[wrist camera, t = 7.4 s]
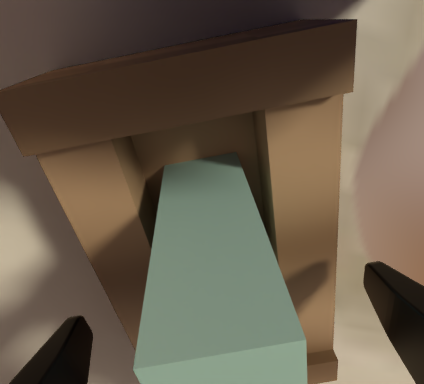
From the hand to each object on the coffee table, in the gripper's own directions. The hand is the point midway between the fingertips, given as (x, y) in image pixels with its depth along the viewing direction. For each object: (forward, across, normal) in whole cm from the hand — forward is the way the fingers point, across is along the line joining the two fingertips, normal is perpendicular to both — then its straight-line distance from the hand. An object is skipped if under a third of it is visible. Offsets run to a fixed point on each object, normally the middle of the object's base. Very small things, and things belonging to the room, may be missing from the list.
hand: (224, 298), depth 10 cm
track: (+4, 0, 0) cm, 4 cm away
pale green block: (+3, 0, 0) cm, 3 cm away
